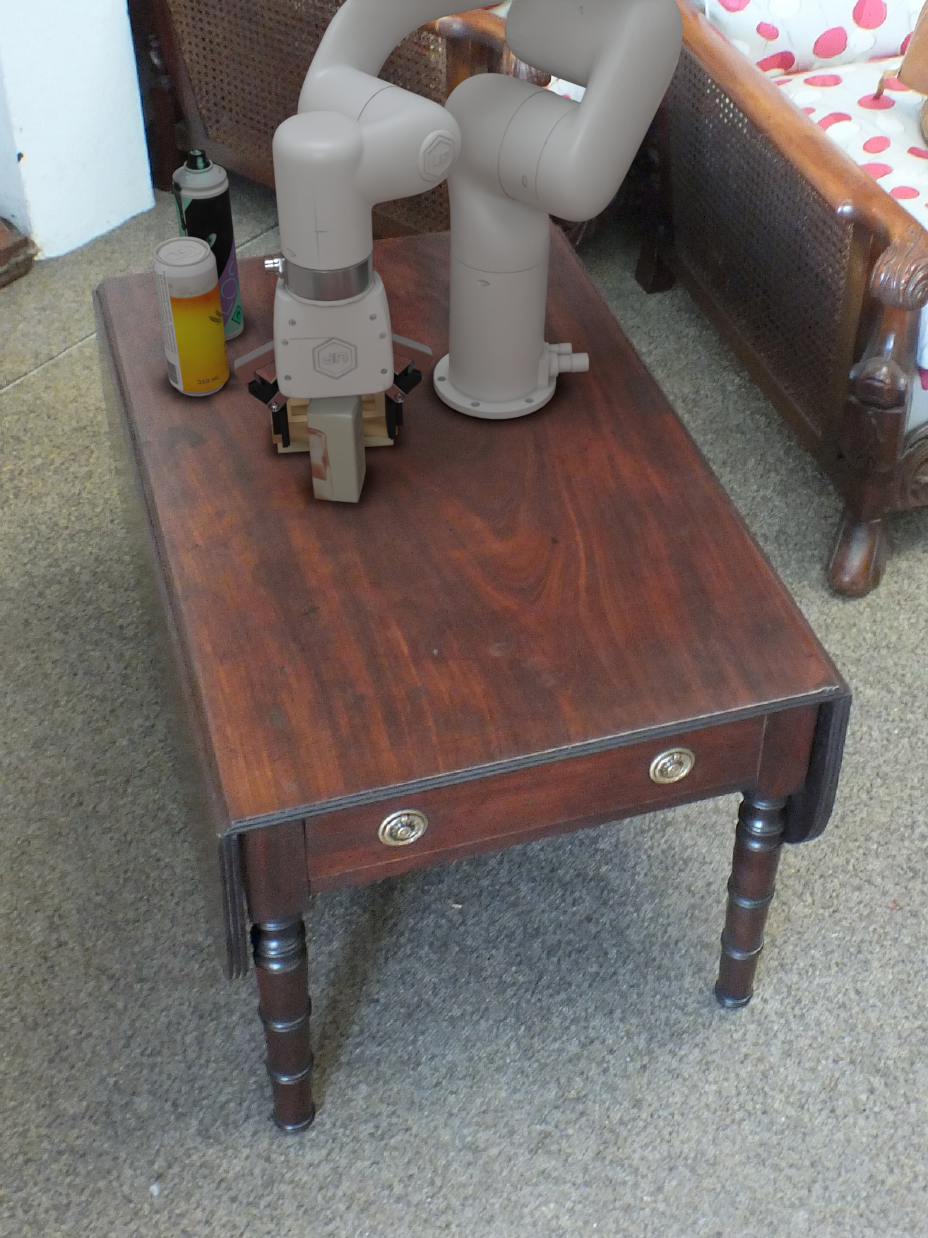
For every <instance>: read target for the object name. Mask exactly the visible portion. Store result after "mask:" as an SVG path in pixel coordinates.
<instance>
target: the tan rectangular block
mask: <svg viewBox="0 0 928 1238" xmlns="http://www.w3.org/2000/svg"><path fill="white" fill-rule="evenodd" d="M308 403H309V399H293V398H290V399H289V400H288V401H287V412H288V423H289V434H290V446H288V448H283V445H282V435H274V432H273V422H272V413H271V411H270V410H269V413H270V427H271V437H272V444H276V445H277V453H278V454H284V453H285V454H286V453H298V452H310V447H309V436H308V425H307V415H306V412H307V407H308ZM362 413H363V432H364V448H368V447H382V446H383V447H384V446H393V445H394V440H391V439H390V438H388V433H387V427H386V421H385V394H384V392H380V393H376V394H367V395H362ZM398 433H399V432H398V426H396V436H397V435H398Z"/></svg>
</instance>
